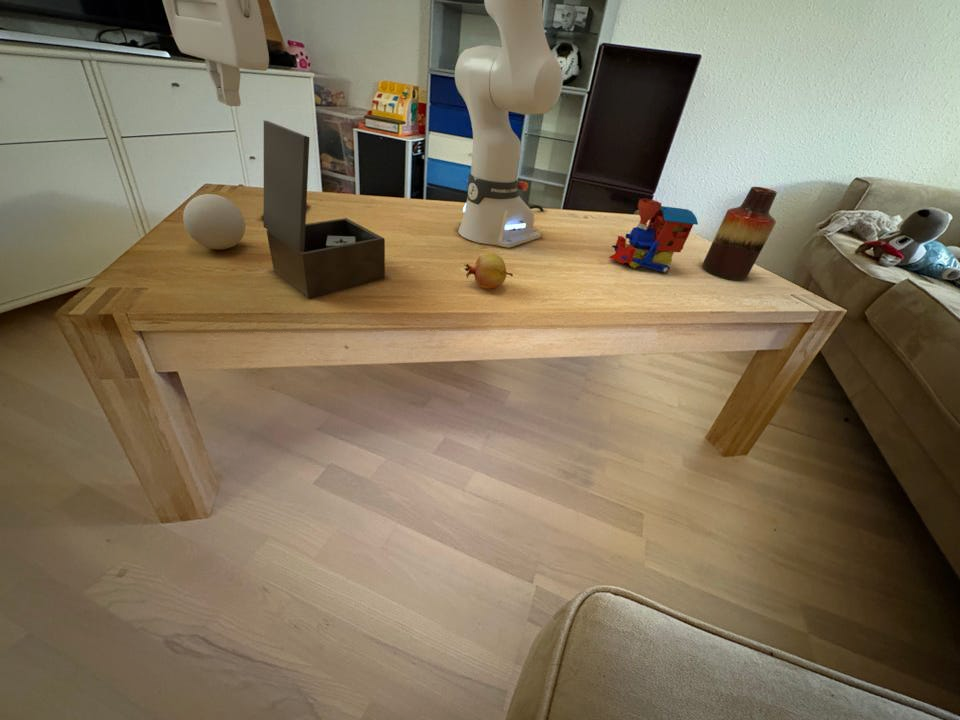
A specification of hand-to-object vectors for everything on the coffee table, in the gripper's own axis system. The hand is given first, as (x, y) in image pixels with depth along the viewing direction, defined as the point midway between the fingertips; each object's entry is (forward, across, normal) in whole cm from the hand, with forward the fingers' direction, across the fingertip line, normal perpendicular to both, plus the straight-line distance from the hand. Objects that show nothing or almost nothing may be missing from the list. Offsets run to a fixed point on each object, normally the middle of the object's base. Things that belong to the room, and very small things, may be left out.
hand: (229, 104), depth 54 cm
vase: (+27, -48, -95) cm, 110 cm away
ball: (+27, +21, -1) cm, 35 cm away
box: (+27, 0, -12) cm, 30 cm away
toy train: (+27, -32, -77) cm, 88 cm away
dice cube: (+26, +1, -15) cm, 31 cm away
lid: (+11, 0, -6) cm, 12 cm away
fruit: (+27, -20, -34) cm, 48 cm away
